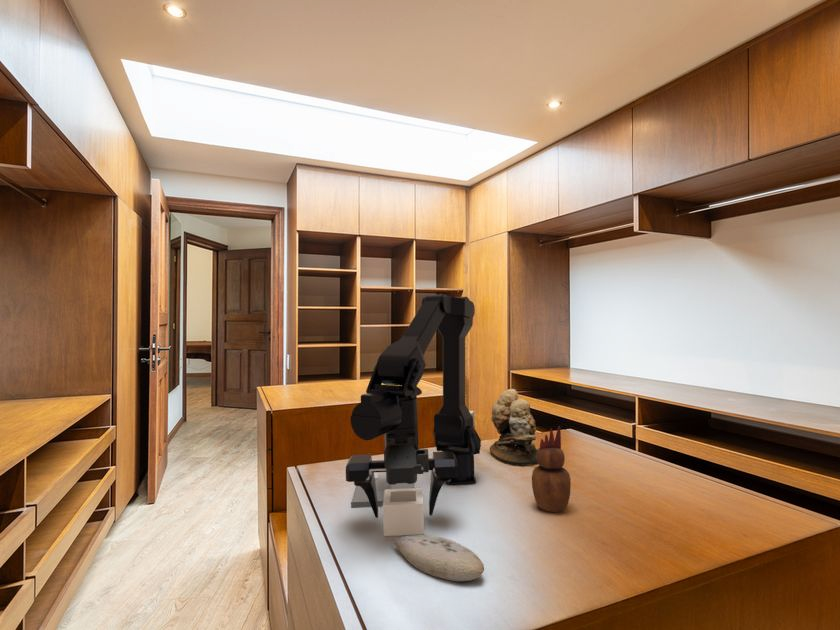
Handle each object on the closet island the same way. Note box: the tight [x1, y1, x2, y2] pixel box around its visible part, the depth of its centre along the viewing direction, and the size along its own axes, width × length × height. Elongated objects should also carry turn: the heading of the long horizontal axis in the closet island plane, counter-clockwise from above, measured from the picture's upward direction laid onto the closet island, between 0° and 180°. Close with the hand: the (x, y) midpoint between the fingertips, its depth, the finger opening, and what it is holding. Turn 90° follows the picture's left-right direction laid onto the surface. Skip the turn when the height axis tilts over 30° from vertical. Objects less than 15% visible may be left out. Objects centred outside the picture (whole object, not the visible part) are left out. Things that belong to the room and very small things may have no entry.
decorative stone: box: [394, 534, 485, 582], centre depth 63 cm, size 6×16×3 cm, turn 54°
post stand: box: [350, 472, 415, 509], centre depth 89 cm, size 12×12×6 cm
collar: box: [382, 487, 425, 537], centre depth 75 cm, size 7×7×5 cm
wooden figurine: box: [531, 425, 572, 513], centre depth 80 cm, size 7×6×15 cm
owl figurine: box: [489, 388, 539, 467], centre depth 110 cm, size 18×12×17 cm, turn 12°
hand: (403, 515), depth 75 cm, fingers open, 9 cm apart
